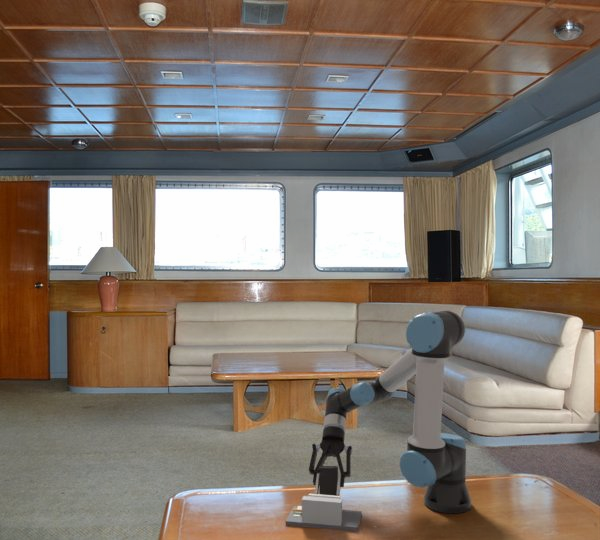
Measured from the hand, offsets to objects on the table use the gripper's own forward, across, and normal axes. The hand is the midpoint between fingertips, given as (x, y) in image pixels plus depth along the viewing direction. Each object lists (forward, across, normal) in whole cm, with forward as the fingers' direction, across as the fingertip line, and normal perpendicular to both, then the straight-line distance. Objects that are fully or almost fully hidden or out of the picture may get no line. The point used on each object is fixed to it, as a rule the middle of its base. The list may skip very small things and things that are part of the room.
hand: (327, 495), depth 194 cm
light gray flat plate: (+6, +3, 0) cm, 7 cm away
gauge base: (+8, 0, -1) cm, 8 cm away
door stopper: (0, 0, -6) cm, 6 cm away
